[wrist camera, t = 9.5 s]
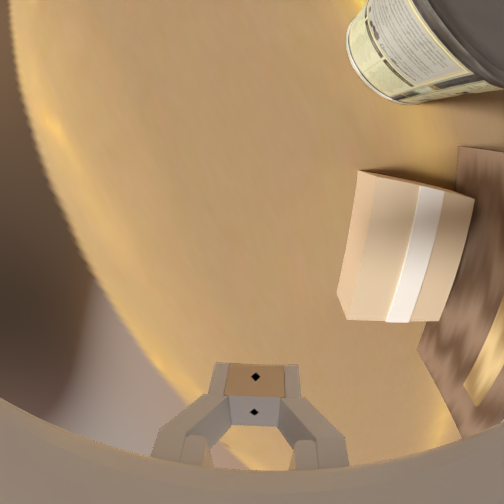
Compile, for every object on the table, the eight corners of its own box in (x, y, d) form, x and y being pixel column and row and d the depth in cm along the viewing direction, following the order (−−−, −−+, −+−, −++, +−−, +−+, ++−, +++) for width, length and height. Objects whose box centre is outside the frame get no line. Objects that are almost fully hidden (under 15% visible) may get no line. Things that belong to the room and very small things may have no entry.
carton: (357, 170, 24) (377, 177, 19) (446, 188, 23) (476, 199, 19) (335, 291, 28) (347, 320, 23) (419, 296, 28) (439, 322, 23)
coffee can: (386, -7, 16) (452, -77, 3) (457, 70, 18) (556, 50, 5) (320, 43, 19) (367, -43, 6) (401, 127, 22) (511, 127, 8)
